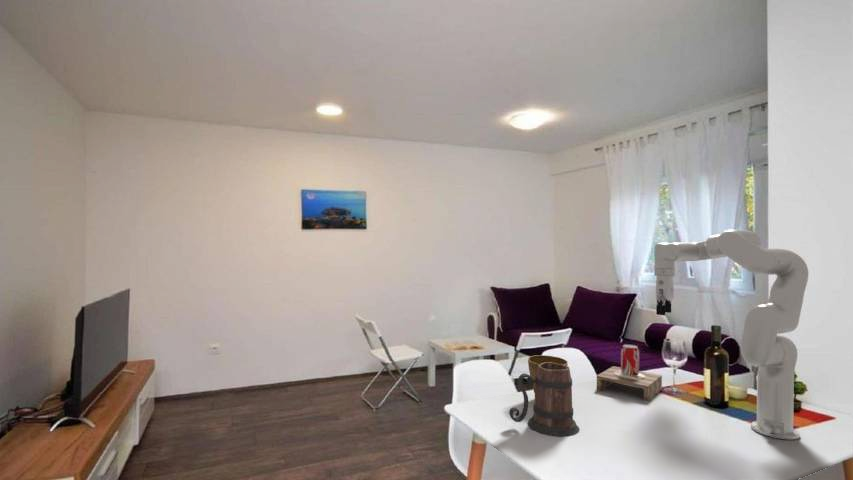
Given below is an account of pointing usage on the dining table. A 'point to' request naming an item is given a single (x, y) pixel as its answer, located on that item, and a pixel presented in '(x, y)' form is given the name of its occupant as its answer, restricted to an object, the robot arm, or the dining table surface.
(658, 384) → the stand
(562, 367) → the tankard
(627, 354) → the soda can
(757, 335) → the robot arm
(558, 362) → the plant pot
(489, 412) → the dining table surface
